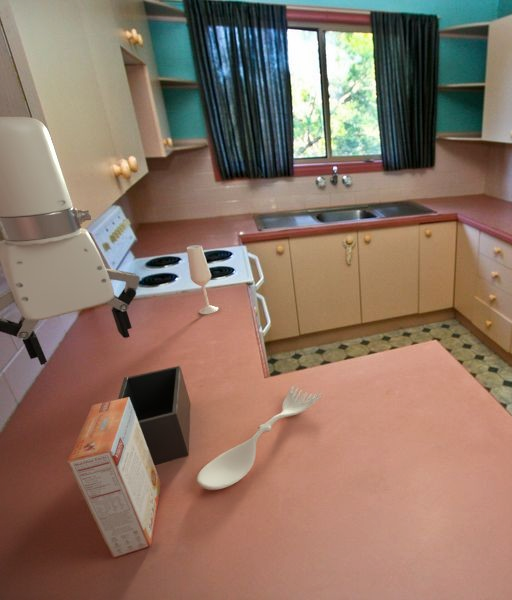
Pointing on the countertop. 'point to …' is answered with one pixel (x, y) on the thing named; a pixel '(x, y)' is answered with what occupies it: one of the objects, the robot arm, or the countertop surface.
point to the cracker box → (117, 476)
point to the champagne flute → (200, 273)
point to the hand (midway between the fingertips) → (85, 346)
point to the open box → (161, 411)
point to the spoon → (248, 447)
